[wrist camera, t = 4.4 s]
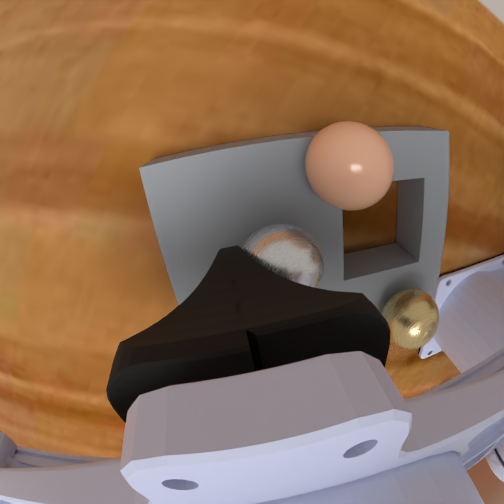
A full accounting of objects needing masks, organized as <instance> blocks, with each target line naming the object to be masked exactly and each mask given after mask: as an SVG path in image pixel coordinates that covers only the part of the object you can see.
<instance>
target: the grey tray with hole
mask: <svg viewBox="0 0 504 504" xmlns="http://www.w3.org/2000/svg"><path fill="white" fill-rule="evenodd" d="M371 128H373V129H374V130H376V131H377V132H378V133H379V134H380V135H381V136H382V137H383V138H384V139H385V141H386V142H387V144H388V146H389V148H390V150H391V152H392V155H393V160H394V176H393V180H392V181H397V228H396V243H393V244H388V245H384V246H379V247H375V248H370V249H365V250H361V251H356V252H351V253H346V254H344V251H343V215H342V209H338V208H336V207H333V206H331V205H329V204H328V203H326V202H325V201H323V200H322V199H321V198H320V197H319V196H318V195H317V194H316V193H315V192H314V190H313V189H312V187H311V185H310V183H309V181H308V178H307V175H306V169H305V158H306V153H307V150H308V147H309V145H310V143H311V141H312V139H313V138H314V137H315V135H316V134H317V133H318V132H319V131H312V132H302V133H293V134H285V135H277V136H270V137H263V138H256V139H250V140H243V141H237V142H231V143H226V144H220V145H215V146H210V147H205V148H200V149H195V150H190V151H186V152H181V153H177V154H172V155H168V156H164V157H160V158H155V159H152V160H150V161H149V162H147V163H146V164H144V165H143V166H141V167H140V168H139V170H140V174H141V178H142V182H143V186H144V190H145V194H146V198H147V202H148V206H149V210H150V214H151V217H152V221H153V225H154V228H155V232H156V235H157V239H158V242H159V246H160V249H161V252H162V256H163V259H164V262H165V265H166V269H167V272H168V275H169V278H170V281H171V284H172V287H173V290H174V294H175V297H176V299H177V302H178V305H180V304H181V303H182V302H183V301H184V300H185V299H186V298H187V297H188V296H189V295H190V294H191V293H192V292H193V291H194V290H195V289H196V288H197V286H198V285H199V283H200V282H201V281H202V279H203V278H204V276H205V275H206V273H207V272H208V270H209V268H210V266H211V265H212V263H213V261H214V259H215V257H216V255H217V252H218V251H219V249H221V248H226V247H231V246H236V245H238V246H240V247H241V248H242V247H243V245H244V244H245V242H246V241H247V239H248V238H249V237H250V236H251V235H252V234H253V233H255V232H256V231H257V230H259V229H261V228H263V227H265V226H268V225H272V224H278V223H282V224H290V225H294V226H297V227H299V228H301V229H303V230H305V231H306V232H307V233H308V234H310V235H311V236H312V237H313V239H314V240H315V241H316V242H317V244H318V246H319V248H320V250H321V253H322V256H323V262H324V270H323V276H322V280H321V282H320V285H319V287H318V288H320V289H325V290H331V291H341V292H356V293H363V294H364V295H365V296H366V297H367V298H368V299H369V300H370V301H371V302H372V303H373V304H374V305H375V307H376V308H377V309H378V310H379V311H380V313H381V314H382V311H383V308H384V306H385V304H386V302H387V301H388V300H389V298H390V297H391V296H392V295H394V294H395V293H396V292H398V291H400V290H403V289H406V288H417V289H421V290H423V291H425V292H427V293H428V294H429V295H431V296H432V298H433V299H435V294H436V289H437V284H438V279H439V273H440V267H441V261H442V254H443V247H444V239H445V231H446V221H447V209H448V194H449V165H450V150H449V131H446V130H440V129H434V128H428V127H421V126H394V127H371Z"/></svg>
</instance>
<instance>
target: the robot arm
mask: <svg viewBox="0 0 504 504" xmlns="http://www.w3.org/2000/svg"><path fill="white" fill-rule="evenodd" d="M434 300H435V302H436V304H437V306H438V310H439V325H438V328H437V331H436V333H435V335H434V336H433V338H432V339H431V340H430V341H429V342H428V343H427V344H425V345H424V346H422V347H421V349H420V352H419V356H420V358H421V359H424V358H427V357H429V356H431V355H434V354H436V353H438V352H440V351H444V353H445V354H446V355H447V356H448V358H449V359H450V360H451V361H452V363H453V364H454V365H455V366H456V368H457V369H458V370H459V372H460V373H461V374H460V375H458V376H456V377H454V378H452V379H451V380H449V381H447V382H445V383H443V384H441V385H439V386H437V387H435V388H433V389H431V390H429V391H427V392H425V393H423V394H421V395H419V396H416V397H412V398H408V399H403V397H402V395H401V394H400V392H399V390H398V389H397V387H396V386H395V384H394V382H393V381H392V379H391V377H390V376H389V374H388V373H387V371H386V369H385V364H386V359H387V355H388V350H389V345H390V334H391V331H390V328H389V325H388V322H387V320H386V319H385V318H384V317H383V315H382V314H381V313H380V311H379V310H378V309H377V308H376V307H375V305H374V304H373V303H372V302H371V301H370V300H369V299H368V298H367V297H366V296H365V295H364V294H363V293H356V292H341V291H331V290H325V289H320V288H315V287H311V286H307V285H303V284H300V283H297V282H294V281H291V280H288V279H286V278H284V277H282V276H279V275H277V274H275V273H273V272H271V271H270V270H268V269H266V268H265V267H264V266H262V265H261V264H259V263H258V262H257V261H255V260H254V259H253V258H252V257H250V256H249V255H248V254H247V253H246V252H245V251H244V250H243V249H242V248H241V247H240V246H238V245H236V246H231V247H226V248H221V249H219V251H218V252H217V255H216V257H215V259H214V261H213V263H212V265H211V266H210V268H209V270H208V272H207V273H206V275H205V276H204V278H203V279H202V281H201V282H200V283H199V285H198V286H197V288H196V289H195V290H194V291H193V292H192V293H191V294H190V295H189V296H188V297H187V298H186V299H185V300H184V301H183V302H182V303H181V304H180V305H179V306H178V307H176V308H175V309H174V310H173V311H172V312H171V313H169V314H168V315H167V316H165V317H164V318H162V319H161V320H160V321H158V322H157V323H155V324H153V325H152V326H150V327H149V328H147V329H145V330H144V331H142V332H140V333H138V334H136V335H134V336H132V337H130V338H128V339H126V340H124V341H122V342H120V344H119V346H118V349H117V352H116V354H115V357H114V361H113V365H112V369H111V373H110V377H109V381H108V385H107V389H106V390H107V396H108V400H109V402H110V403H111V405H112V407H113V408H114V410H115V411H116V412H117V413H118V415H119V416H120V417H121V418H122V420H123V421H124V422H125V423H126V425H125V432H124V440H123V448H122V456H121V457H120V458H105V457H90V456H79V455H70V454H62V453H55V452H48V451H42V450H36V449H31V448H26V447H21V446H17V445H16V444H15V442H14V441H13V440H12V439H10V438H9V437H8V436H7V435H6V434H4V433H3V432H1V431H0V504H484V503H483V501H482V499H481V497H480V495H479V493H478V491H477V489H476V487H475V486H474V484H473V482H472V480H471V479H470V477H469V475H468V473H467V471H466V470H468V469H469V468H471V467H472V466H473V465H475V464H476V463H477V462H479V461H480V460H481V459H483V458H484V457H485V456H486V459H487V462H488V464H489V466H490V468H491V469H492V471H493V472H494V474H495V475H496V476H497V477H498V478H499V479H500V480H501V481H503V482H504V254H503V255H501V256H498V257H495V258H493V259H490V260H487V261H484V262H482V263H479V264H476V265H473V266H470V267H467V268H465V269H462V270H459V271H456V272H453V273H450V274H447V275H444V276H441V277H440V278H439V279H438V284H437V289H436V294H435V299H434Z"/></svg>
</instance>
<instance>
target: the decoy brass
mask: <svg viewBox="0 0 504 504" xmlns="http://www.w3.org/2000/svg"><path fill="white" fill-rule="evenodd" d="M382 315H383V317H384V318H385V319H386V320H387V322H388V325H389V328H390V331H391V334H390V343H391V344H392V345H393V346H395V347H397V348H399V349H403V350H414V349H418V348H420V347H422V346H424V345H425V344H427V343H428V342H429V341H430V340H431V339H432V338H433V336H434V335H435V333H436V331H437V328H438V325H439V310H438V306H437V304H436V302H435V300H434V299H433V298H432V296H431V295H429V294H428V293H427V292H425V291H423V290H421V289H417V288H406V289H403V290H400V291H398V292H396V293H395V294H394V295H392V296H391V297H390V298H389V300H388V301H387V302H386V304H385V306H384V308H383V311H382Z"/></svg>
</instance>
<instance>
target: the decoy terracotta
mask: <svg viewBox="0 0 504 504" xmlns="http://www.w3.org/2000/svg"><path fill="white" fill-rule="evenodd" d="M305 169H306V175H307V178H308V181H309V183H310V185H311V187H312V189H313V190H314V192H315V193H316V194H317V195H318V196H319V197H320V198H321V199H322V200H323V201H325V202H326V203H328V204H329V205H331V206H333V207H336V208H338V209H342V210H350V211H353V210H361V209H365V208H368V207H370V206H372V205H374V204H375V203H377V202H378V201H379V200H380V199H382V198H383V196H384V195H385V194H386V193H387V191H388V190H389V188H390V186H391V183H392V180H393V176H394V160H393V155H392V152H391V150H390V148H389V146H388V144H387V142H386V141H385V139H384V138H383V137H382V136H381V135H380V134H379V133H378V132H377V131H376V130H374V129H373V128H371V127H369V126H367V125H365V124H362V123H359V122H354V121H341V122H336V123H333V124H331V125H328V126H326V127H325V128H323V129H322V130H321V131H319V132H318V133H317V134H316V135H315V137H314V138H313V139H312V141H311V143H310V145H309V147H308V150H307V153H306V158H305Z"/></svg>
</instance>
